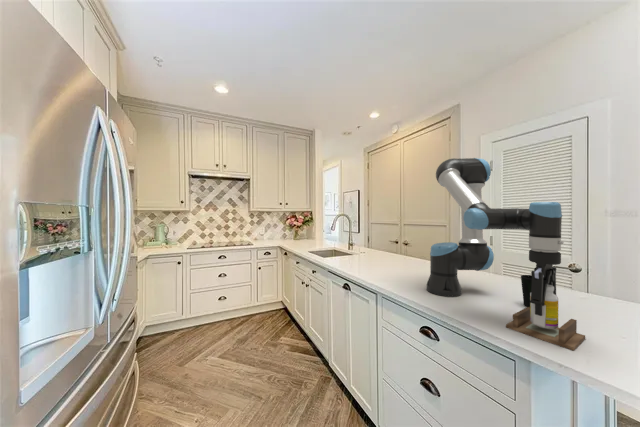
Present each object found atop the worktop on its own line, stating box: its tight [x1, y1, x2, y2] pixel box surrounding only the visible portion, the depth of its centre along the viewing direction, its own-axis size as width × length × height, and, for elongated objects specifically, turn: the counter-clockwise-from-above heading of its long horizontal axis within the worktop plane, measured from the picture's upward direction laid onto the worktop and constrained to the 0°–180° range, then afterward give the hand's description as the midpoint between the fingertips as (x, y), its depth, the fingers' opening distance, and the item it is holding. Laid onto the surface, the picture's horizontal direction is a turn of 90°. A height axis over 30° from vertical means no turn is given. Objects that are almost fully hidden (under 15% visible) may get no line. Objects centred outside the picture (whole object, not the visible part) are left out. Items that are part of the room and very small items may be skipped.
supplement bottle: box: [530, 284, 559, 329], centre depth 77 cm, size 7×7×13 cm
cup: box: [520, 274, 532, 308], centre depth 99 cm, size 8×8×12 cm
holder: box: [505, 306, 586, 352], centre depth 77 cm, size 16×12×5 cm
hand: (543, 322), depth 77 cm, fingers closed on supplement bottle, 7 cm apart
